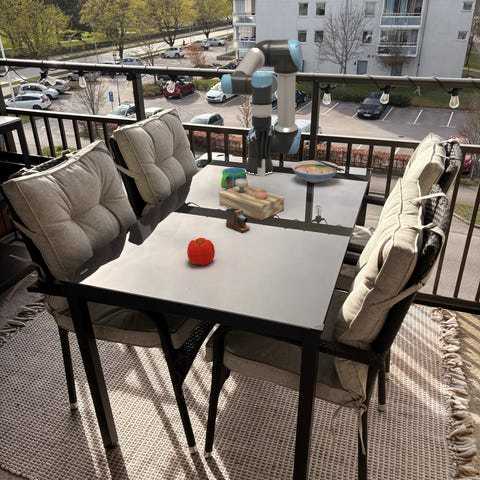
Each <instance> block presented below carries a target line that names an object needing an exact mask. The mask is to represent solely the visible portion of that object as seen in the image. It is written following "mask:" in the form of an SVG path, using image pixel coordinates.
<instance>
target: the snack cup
mask: <svg viewBox="0 0 480 480" xmlns="http://www.w3.org/2000/svg"><path fill="white" fill-rule="evenodd" d="M221 173H222V177H221V181H220V183H221V184H220V188H222V189H224V190H228V189H231V188H234V187H236V185H235V180H236V179H247V177H248V176H247V173H246V172H245V168H240V167H228V168H224V169H223V170H222V171H221ZM247 180H248V179H247Z"/></svg>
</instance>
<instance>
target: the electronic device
mask: <svg viewBox="0 0 480 480" xmlns="http://www.w3.org/2000/svg"><path fill="white" fill-rule="evenodd" d="M248 220H249V218H248V217H245V214H244V213H243V210H240V209H234V208H231V209H228V208H227V210H226V221H225V226H226V228H230V229H234V230H236V231H239V232H240V233H242V234H243V233H245V232H247V231H250V229H251V226H249V225H247V223H248Z"/></svg>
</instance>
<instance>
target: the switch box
mask: <svg viewBox="0 0 480 480" xmlns="http://www.w3.org/2000/svg"><path fill="white" fill-rule="evenodd" d="M260 190H261V189H258V188H255V187H252V186H251V187H250V186H249V185H248V186H245V187H244V193H239V187H238V186H236V187H234V188H231V189H228V190H226V189H224V190H222V191H219V206H220V205H221V206H220V207H222V206H225V207H227V208H226V209H228V208H230V209H231V208H234V209H240V210H243V213H244V216H245V215H246V216H248V217H251V218H254V219H257V220H260V221H262V220H265V219H267V218H269V217H272V216H274V215H277V214H279V213H281V212H284V209H285V208H284V206H285V205H284V204H285V197H284V196H281V195H279V194H275V193H271V192H268V191H266V192H267V198H266V199H256V198H255V191H260ZM225 207H224V208H225Z"/></svg>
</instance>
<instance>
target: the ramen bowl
mask: <svg viewBox="0 0 480 480" xmlns="http://www.w3.org/2000/svg"><path fill="white" fill-rule="evenodd" d="M291 169H292V171H293V172H294V174H295V175H296V176H297V177H298V178H299V179H300V180H302V181H305V182H307V183H309V182H310V183H309V184H320V182H321V183H322V182H326V181H329V180H330V179H332V178H333V177H334V176H336V174H337V173H338V172H344V171H345V169H344V168H341V167H339V165H337V164H336V163H333V162H330V161H323V160H318V159H315V158H311V160H302V161H297V162H295V163H293V164H292V165H291Z"/></svg>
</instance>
